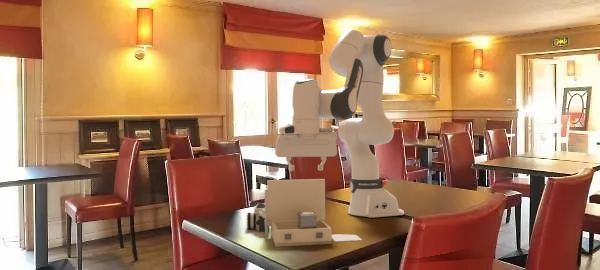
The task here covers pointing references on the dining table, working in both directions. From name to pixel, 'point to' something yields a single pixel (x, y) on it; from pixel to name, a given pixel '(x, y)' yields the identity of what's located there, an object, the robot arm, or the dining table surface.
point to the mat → (345, 238)
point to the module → (306, 219)
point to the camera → (257, 218)
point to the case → (295, 212)
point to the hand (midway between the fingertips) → (306, 170)
